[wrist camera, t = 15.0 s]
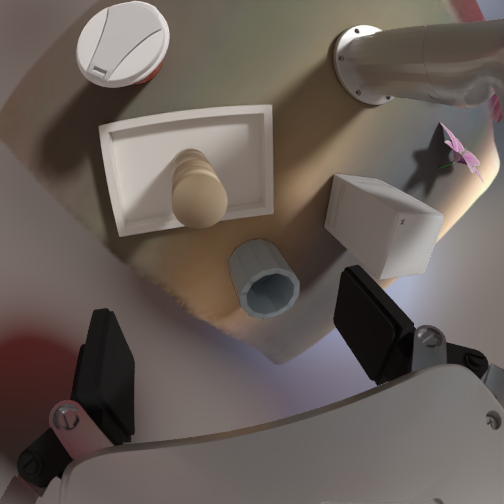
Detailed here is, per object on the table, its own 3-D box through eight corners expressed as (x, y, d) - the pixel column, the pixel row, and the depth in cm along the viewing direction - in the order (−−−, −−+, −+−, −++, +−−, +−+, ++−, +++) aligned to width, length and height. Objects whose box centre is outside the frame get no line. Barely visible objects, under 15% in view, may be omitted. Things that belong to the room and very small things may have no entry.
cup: (280, 235, 44) (301, 263, 37) (279, 280, 48) (297, 311, 41) (226, 243, 42) (238, 274, 35) (230, 289, 46) (242, 323, 39)
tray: (264, 104, 34) (272, 104, 31) (266, 205, 41) (273, 213, 38) (104, 124, 30) (98, 126, 27) (122, 227, 37) (119, 237, 34)
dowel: (206, 146, 34) (225, 172, 22) (209, 180, 36) (229, 224, 24) (170, 151, 33) (168, 180, 21) (174, 185, 35) (175, 232, 23)
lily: (461, 163, 47) (495, 152, 38) (449, 205, 45) (488, 198, 36) (427, 121, 45) (461, 104, 36) (412, 161, 43) (452, 146, 34)
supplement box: (321, 228, 45) (376, 282, 32) (332, 172, 41) (399, 211, 28) (367, 228, 47) (424, 276, 35) (379, 178, 43) (446, 215, 30)
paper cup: (149, 102, 30) (133, 102, 18) (97, 78, 27) (54, 68, 15) (184, 48, 28) (190, 17, 16) (131, 24, 24) (108, -15, 12)
